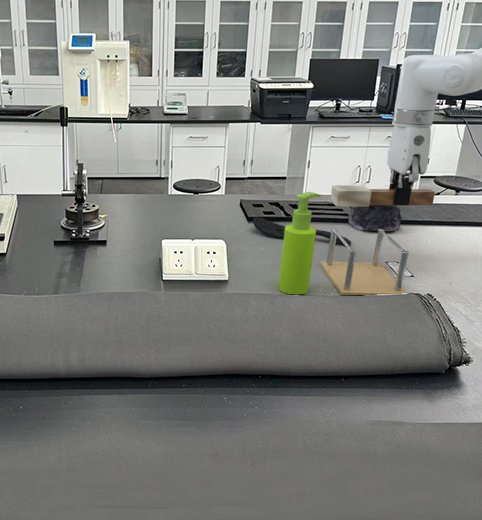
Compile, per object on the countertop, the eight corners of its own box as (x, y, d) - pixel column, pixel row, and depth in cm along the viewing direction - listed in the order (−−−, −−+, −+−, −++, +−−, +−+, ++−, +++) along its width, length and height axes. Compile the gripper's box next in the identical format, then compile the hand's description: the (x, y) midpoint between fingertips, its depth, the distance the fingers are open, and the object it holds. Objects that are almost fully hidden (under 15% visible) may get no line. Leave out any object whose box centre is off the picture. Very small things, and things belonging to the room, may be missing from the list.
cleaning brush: (425, 200, 120) (428, 185, 119) (435, 206, 115) (438, 191, 114) (330, 200, 121) (332, 185, 120) (336, 206, 117) (338, 191, 115)
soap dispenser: (317, 289, 109) (330, 194, 101) (295, 298, 105) (307, 200, 97) (294, 279, 113) (305, 188, 105) (272, 287, 109) (282, 193, 102)
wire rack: (378, 265, 120) (385, 227, 116) (407, 297, 105) (417, 254, 102) (320, 264, 121) (325, 226, 117) (341, 296, 106) (348, 253, 102)
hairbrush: (350, 239, 127) (249, 219, 138) (347, 253, 129) (247, 232, 139) (355, 229, 134) (258, 210, 144) (352, 243, 135) (256, 223, 146)
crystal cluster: (394, 240, 137) (406, 202, 133) (340, 226, 143) (350, 190, 139) (400, 229, 148) (411, 194, 144) (350, 217, 154) (359, 183, 150)
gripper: (449, 123, 103) (431, 213, 110) (415, 113, 118) (400, 193, 125) (410, 123, 104) (394, 213, 111) (380, 113, 119) (368, 193, 126)
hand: (397, 202), depth 118 cm, fingers closed on cleaning brush, 2 cm apart
